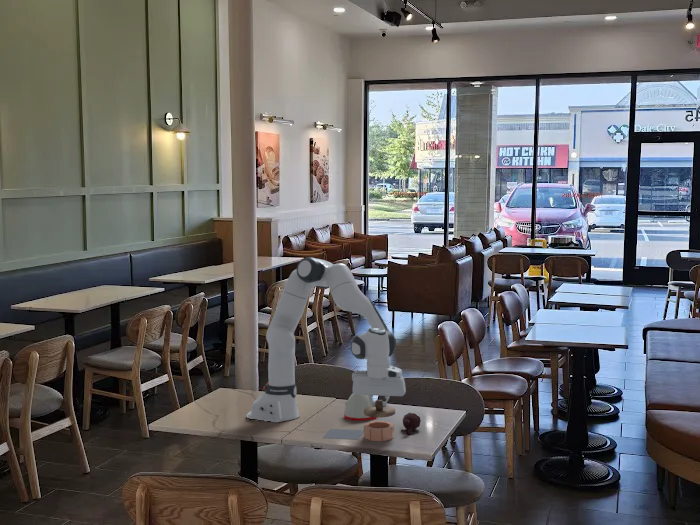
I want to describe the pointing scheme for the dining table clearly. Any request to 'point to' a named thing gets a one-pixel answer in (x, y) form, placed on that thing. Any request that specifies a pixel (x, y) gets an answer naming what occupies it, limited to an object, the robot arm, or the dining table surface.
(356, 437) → the mat
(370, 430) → the bowl
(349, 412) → the kitchen timer
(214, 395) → the dining table surface
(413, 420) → the icecream
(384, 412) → the lid
